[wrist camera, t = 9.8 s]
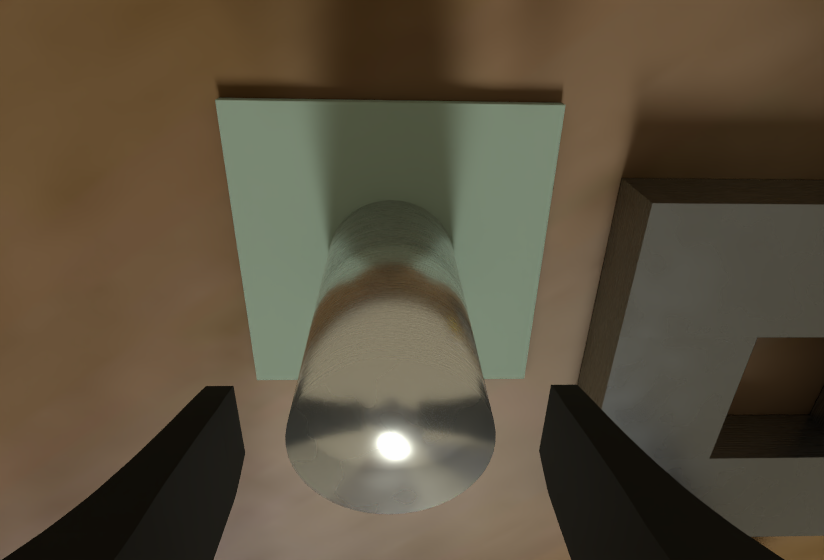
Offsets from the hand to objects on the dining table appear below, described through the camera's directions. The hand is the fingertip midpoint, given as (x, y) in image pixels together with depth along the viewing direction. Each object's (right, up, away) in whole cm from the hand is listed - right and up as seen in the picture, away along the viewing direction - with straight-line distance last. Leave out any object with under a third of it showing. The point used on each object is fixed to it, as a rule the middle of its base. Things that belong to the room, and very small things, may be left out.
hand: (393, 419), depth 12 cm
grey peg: (0, +4, +7) cm, 8 cm away
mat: (0, +4, +7) cm, 9 cm away
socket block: (+16, 0, +10) cm, 19 cm away
